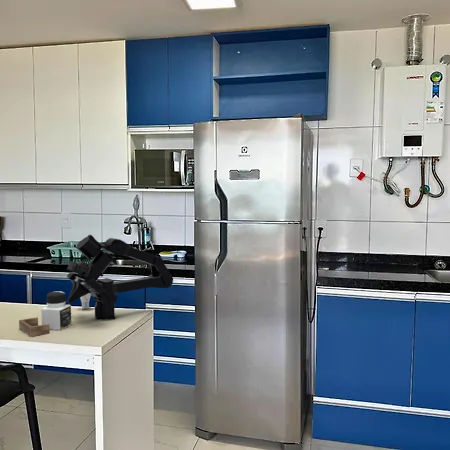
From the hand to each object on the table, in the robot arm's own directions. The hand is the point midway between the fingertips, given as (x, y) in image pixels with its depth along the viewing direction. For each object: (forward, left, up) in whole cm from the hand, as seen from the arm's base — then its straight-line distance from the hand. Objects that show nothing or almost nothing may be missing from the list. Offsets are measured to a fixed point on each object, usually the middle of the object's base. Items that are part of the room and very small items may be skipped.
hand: (68, 301), depth 164 cm
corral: (+11, +4, -8) cm, 14 cm away
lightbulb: (-7, -21, -8) cm, 23 cm away
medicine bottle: (+4, +2, -8) cm, 9 cm away
